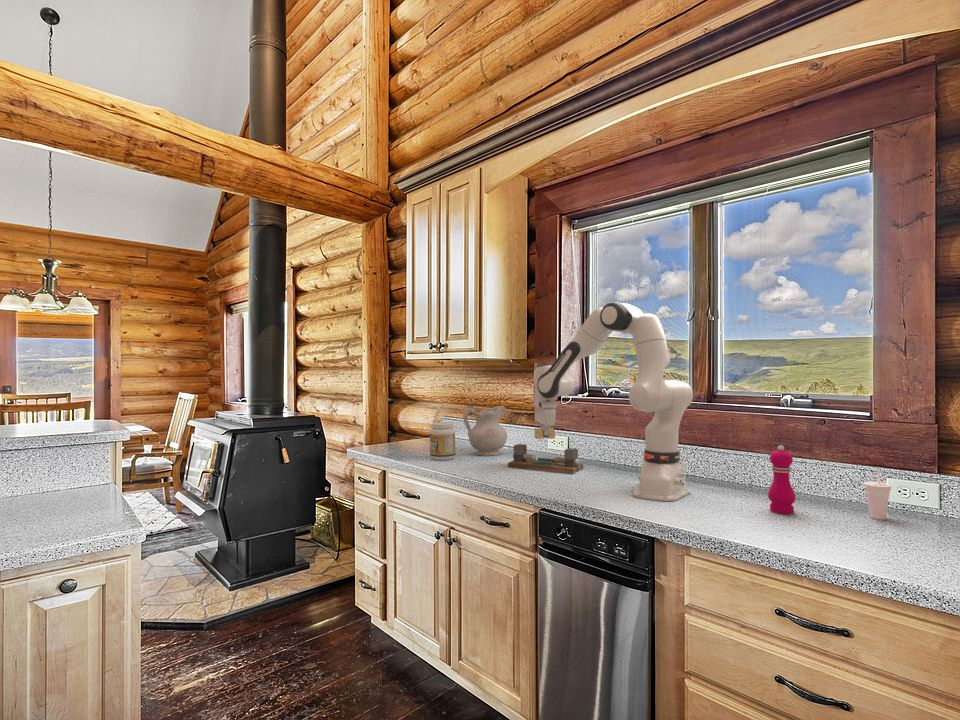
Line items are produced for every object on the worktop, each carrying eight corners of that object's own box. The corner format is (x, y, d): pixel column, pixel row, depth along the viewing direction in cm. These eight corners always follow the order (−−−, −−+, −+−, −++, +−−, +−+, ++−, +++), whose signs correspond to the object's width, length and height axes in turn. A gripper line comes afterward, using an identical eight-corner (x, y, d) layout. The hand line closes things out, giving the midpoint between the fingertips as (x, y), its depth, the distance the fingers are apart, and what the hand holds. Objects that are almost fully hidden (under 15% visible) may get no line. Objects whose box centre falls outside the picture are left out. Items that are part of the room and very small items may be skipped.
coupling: (554, 438, 224) (554, 429, 224) (536, 439, 223) (536, 429, 223) (552, 437, 228) (552, 427, 228) (534, 437, 227) (534, 428, 227)
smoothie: (897, 519, 149) (897, 470, 149) (880, 521, 147) (880, 472, 147) (874, 513, 155) (874, 466, 155) (858, 515, 153) (858, 467, 153)
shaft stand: (572, 474, 212) (572, 452, 212) (508, 467, 228) (507, 446, 228) (583, 468, 223) (583, 447, 223) (520, 462, 238) (520, 442, 238)
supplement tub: (424, 458, 250) (424, 423, 250) (444, 455, 258) (444, 421, 258) (440, 462, 241) (440, 425, 241) (460, 458, 249) (460, 423, 249)
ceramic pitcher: (472, 461, 248) (474, 409, 246) (457, 451, 266) (458, 403, 264) (513, 457, 257) (514, 407, 255) (495, 448, 274) (497, 401, 273)
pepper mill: (763, 507, 162) (762, 443, 162) (787, 507, 162) (786, 443, 162) (776, 514, 155) (775, 447, 155) (800, 514, 155) (800, 447, 155)
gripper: (531, 400, 235) (531, 431, 235) (543, 404, 215) (543, 438, 215) (545, 400, 236) (545, 430, 236) (558, 404, 216) (558, 437, 216)
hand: (544, 434), depth 225 cm, fingers closed on coupling, 3 cm apart
